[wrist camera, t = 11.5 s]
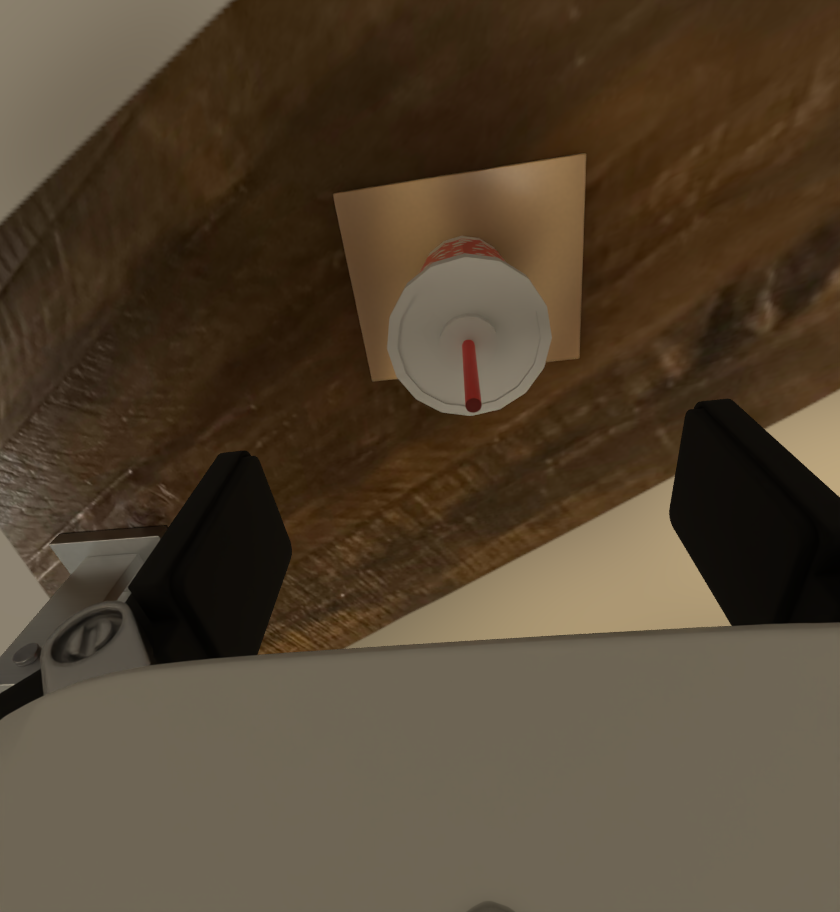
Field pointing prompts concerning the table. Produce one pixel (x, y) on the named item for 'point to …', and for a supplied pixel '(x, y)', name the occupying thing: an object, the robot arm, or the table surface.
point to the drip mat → (472, 215)
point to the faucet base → (80, 588)
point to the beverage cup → (468, 330)
